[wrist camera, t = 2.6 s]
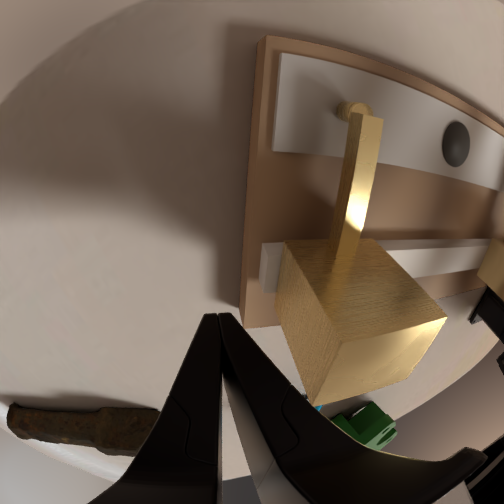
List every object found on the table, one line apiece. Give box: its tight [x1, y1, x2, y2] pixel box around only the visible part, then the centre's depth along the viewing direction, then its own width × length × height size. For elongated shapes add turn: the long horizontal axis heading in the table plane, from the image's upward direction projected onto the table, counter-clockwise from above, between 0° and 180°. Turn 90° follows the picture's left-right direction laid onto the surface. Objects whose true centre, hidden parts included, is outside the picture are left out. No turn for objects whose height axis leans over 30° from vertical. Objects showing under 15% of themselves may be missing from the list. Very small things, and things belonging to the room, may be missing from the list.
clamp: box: [331, 402, 397, 451], centre depth 27 cm, size 12×6×9 cm, turn 22°
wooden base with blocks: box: [239, 35, 504, 329], centre depth 11 cm, size 22×13×8 cm, turn 86°
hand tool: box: [7, 403, 161, 457], centre depth 17 cm, size 19×4×5 cm, turn 97°
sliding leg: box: [274, 101, 448, 407], centre depth 8 cm, size 4×8×6 cm, turn 176°
